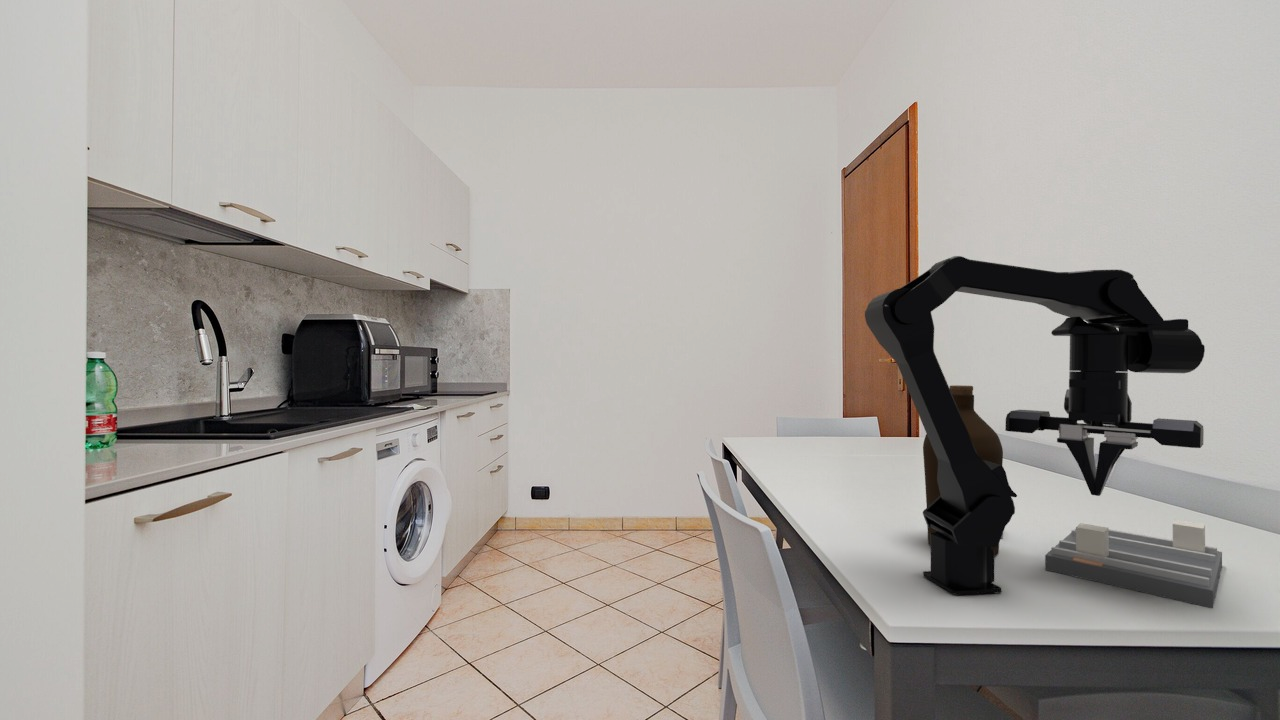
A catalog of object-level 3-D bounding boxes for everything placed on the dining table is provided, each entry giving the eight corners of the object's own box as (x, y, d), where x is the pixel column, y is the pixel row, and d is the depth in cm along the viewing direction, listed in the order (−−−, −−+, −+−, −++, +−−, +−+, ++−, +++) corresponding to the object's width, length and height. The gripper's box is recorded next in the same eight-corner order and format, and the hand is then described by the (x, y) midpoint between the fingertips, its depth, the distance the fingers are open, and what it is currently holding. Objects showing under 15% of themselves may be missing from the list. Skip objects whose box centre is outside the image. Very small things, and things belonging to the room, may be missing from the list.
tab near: (1104, 560, 73) (1104, 532, 73) (1076, 554, 75) (1075, 527, 75) (1108, 554, 75) (1108, 527, 75) (1081, 549, 77) (1080, 522, 77)
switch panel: (1212, 608, 64) (1212, 583, 64) (1045, 569, 76) (1045, 549, 76) (1222, 566, 77) (1221, 546, 77) (1078, 539, 89) (1078, 521, 89)
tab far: (1203, 556, 74) (1203, 528, 75) (1172, 550, 77) (1172, 523, 77) (1205, 551, 76) (1204, 524, 77) (1175, 545, 79) (1174, 519, 79)
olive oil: (988, 566, 77) (986, 387, 78) (911, 546, 85) (910, 385, 86) (1014, 549, 84) (1012, 385, 84) (940, 533, 92) (939, 384, 92)
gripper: (1207, 374, 68) (1205, 500, 68) (1027, 370, 82) (1026, 475, 82) (1201, 373, 61) (1199, 515, 61) (1005, 370, 75) (1003, 485, 75)
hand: (1096, 495), depth 70 cm, fingers closed
